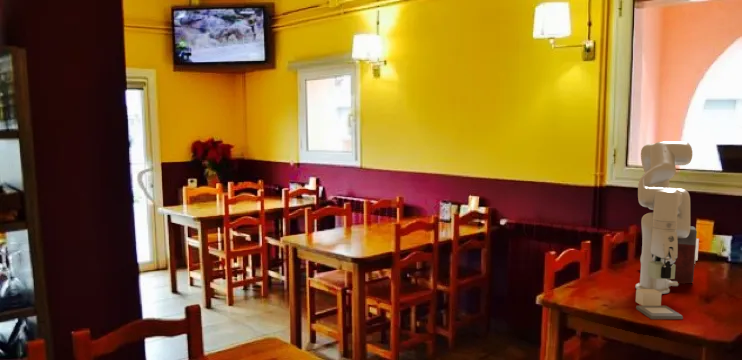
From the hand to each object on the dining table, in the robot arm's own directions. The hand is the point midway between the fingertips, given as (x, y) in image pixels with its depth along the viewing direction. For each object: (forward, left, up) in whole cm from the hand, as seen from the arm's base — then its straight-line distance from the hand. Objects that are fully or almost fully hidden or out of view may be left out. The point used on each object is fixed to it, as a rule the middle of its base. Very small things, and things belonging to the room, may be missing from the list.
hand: (661, 275), depth 205 cm
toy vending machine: (-33, -45, -14) cm, 57 cm away
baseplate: (0, 0, -14) cm, 14 cm away
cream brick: (-2, -12, -14) cm, 18 cm away
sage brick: (0, 0, -1) cm, 1 cm away
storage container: (-50, -74, -14) cm, 90 cm away
